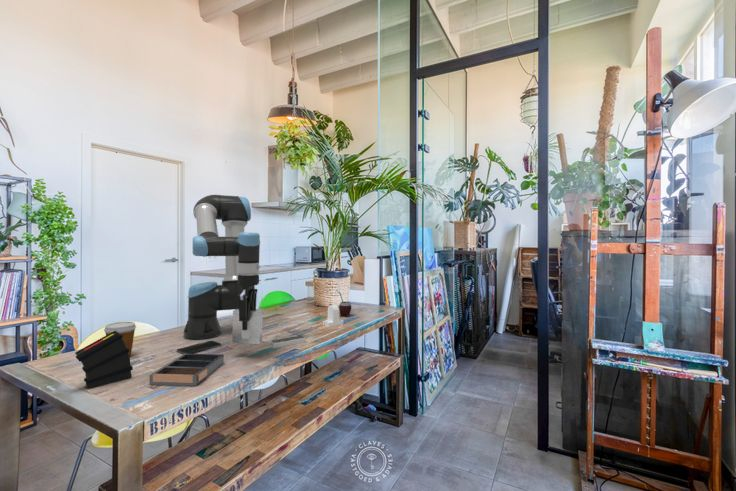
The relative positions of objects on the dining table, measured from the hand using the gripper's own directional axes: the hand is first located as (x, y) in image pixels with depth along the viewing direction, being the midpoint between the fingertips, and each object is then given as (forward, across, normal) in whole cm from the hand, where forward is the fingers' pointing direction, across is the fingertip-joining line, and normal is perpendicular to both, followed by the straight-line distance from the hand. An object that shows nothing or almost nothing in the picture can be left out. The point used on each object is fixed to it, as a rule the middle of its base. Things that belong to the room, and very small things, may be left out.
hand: (247, 336), depth 128 cm
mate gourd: (+9, +70, -30) cm, 76 cm away
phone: (+9, +8, +22) cm, 24 cm away
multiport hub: (+8, +17, -11) cm, 22 cm away
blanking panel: (+2, 0, 0) cm, 2 cm away
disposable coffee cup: (+8, -4, +45) cm, 46 cm away
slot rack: (+7, -16, +13) cm, 22 cm away
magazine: (+8, -26, +34) cm, 43 cm away
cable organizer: (+8, +50, -26) cm, 58 cm away
